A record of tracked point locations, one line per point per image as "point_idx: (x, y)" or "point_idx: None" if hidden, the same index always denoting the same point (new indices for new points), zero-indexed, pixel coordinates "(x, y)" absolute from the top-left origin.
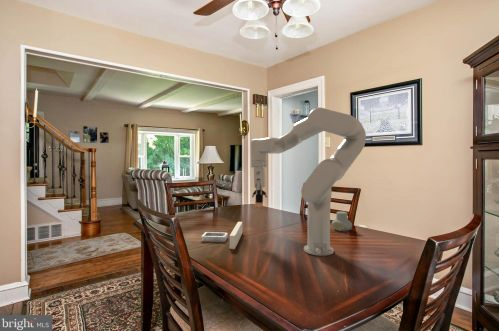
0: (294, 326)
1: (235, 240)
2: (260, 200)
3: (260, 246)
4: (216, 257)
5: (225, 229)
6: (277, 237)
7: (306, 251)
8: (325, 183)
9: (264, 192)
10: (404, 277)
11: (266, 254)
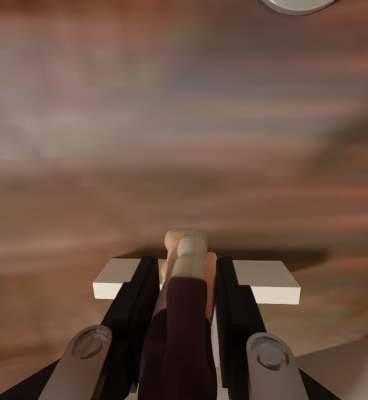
0: None
1: (276, 273)
2: (250, 287)
3: (253, 187)
4: (349, 296)
5: (85, 312)
6: (143, 131)
7: (332, 1)
8: None
9: (203, 318)
10: None
11: (333, 162)
